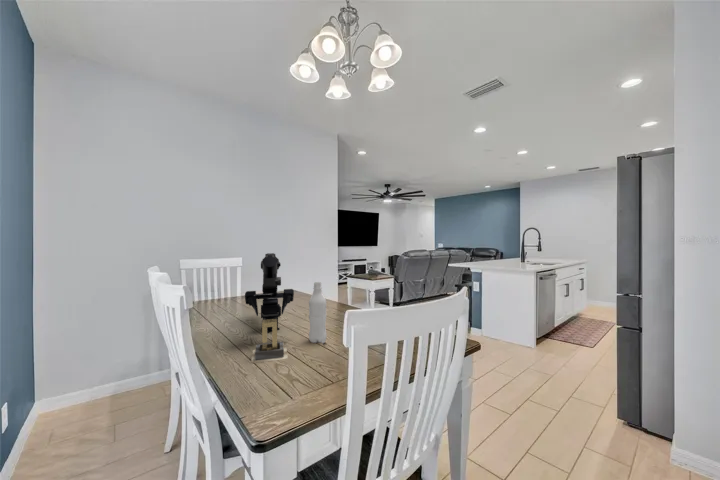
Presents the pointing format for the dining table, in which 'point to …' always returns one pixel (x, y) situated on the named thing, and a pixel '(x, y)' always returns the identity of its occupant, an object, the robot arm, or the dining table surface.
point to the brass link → (272, 324)
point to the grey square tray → (269, 353)
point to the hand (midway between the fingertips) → (269, 314)
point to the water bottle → (317, 315)
